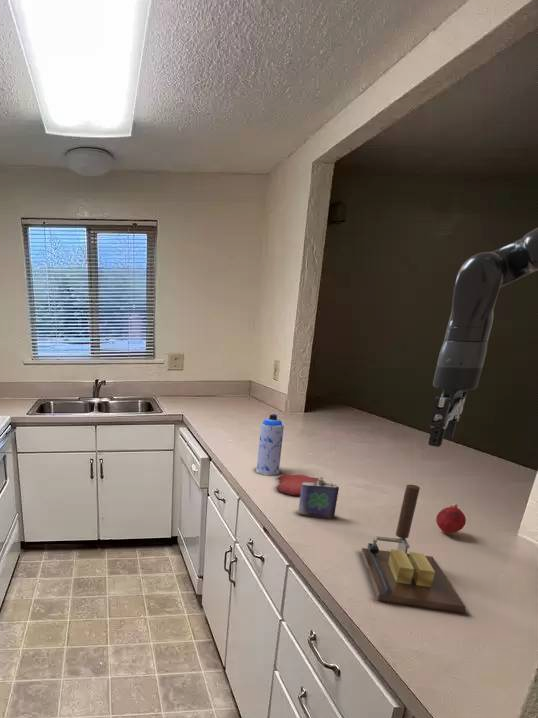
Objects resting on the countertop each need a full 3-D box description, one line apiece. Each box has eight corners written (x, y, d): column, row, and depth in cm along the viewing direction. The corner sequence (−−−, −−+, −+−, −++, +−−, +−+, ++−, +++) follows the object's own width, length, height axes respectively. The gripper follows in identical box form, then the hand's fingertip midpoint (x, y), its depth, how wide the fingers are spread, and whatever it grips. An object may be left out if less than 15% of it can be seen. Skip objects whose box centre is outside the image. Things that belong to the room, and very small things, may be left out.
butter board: (431, 562, 95) (436, 542, 93) (463, 613, 79) (470, 590, 77) (360, 553, 99) (364, 534, 97) (377, 600, 83) (382, 578, 81)
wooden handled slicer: (402, 550, 96) (418, 485, 91) (410, 564, 91) (426, 495, 85) (365, 546, 98) (378, 481, 93) (370, 559, 93) (384, 491, 87)
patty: (279, 475, 147) (280, 470, 146) (323, 480, 142) (324, 475, 141) (274, 494, 132) (275, 488, 131) (324, 500, 127) (325, 494, 126)
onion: (463, 541, 103) (472, 510, 101) (435, 536, 106) (443, 506, 103) (458, 530, 108) (466, 501, 105) (431, 526, 111) (438, 497, 108)
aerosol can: (280, 475, 147) (287, 417, 140) (257, 474, 148) (262, 417, 141) (277, 467, 154) (283, 412, 147) (255, 466, 155) (260, 412, 148)
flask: (298, 515, 118) (303, 478, 114) (297, 510, 120) (302, 474, 117) (334, 518, 116) (341, 481, 112) (333, 514, 118) (339, 477, 114)
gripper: (473, 368, 80) (452, 452, 85) (490, 362, 89) (469, 439, 94) (427, 365, 85) (409, 445, 91) (447, 360, 94) (430, 432, 100)
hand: (440, 441), depth 93 cm, fingers open, 8 cm apart
